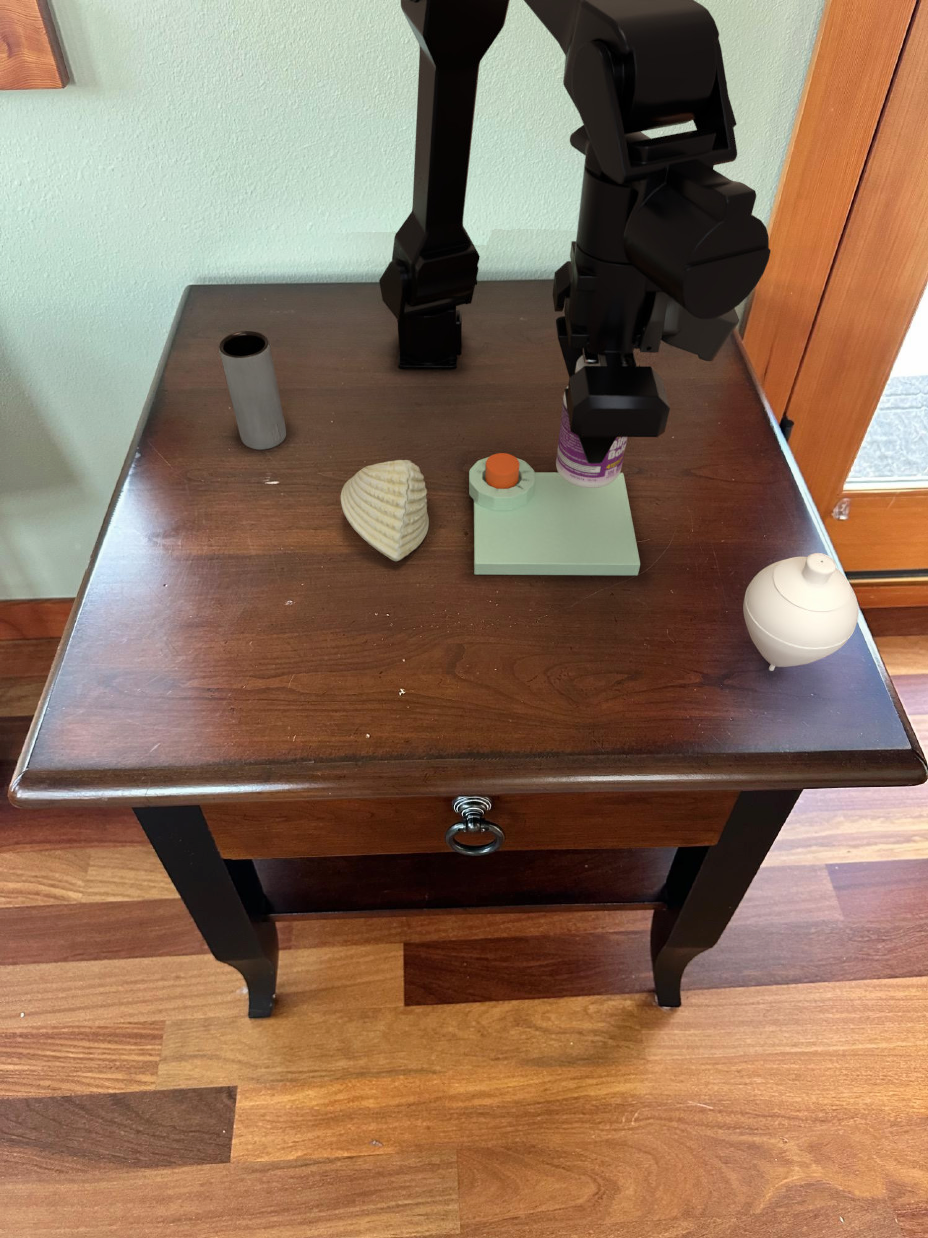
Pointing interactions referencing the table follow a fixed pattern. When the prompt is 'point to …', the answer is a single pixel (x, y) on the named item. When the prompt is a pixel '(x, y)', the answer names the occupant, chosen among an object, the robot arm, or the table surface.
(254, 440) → the grey cylindrical tube
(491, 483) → the button
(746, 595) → the spinning top
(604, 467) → the pill bottle
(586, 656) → the table surface
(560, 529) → the pale green base plate
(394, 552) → the seashell
